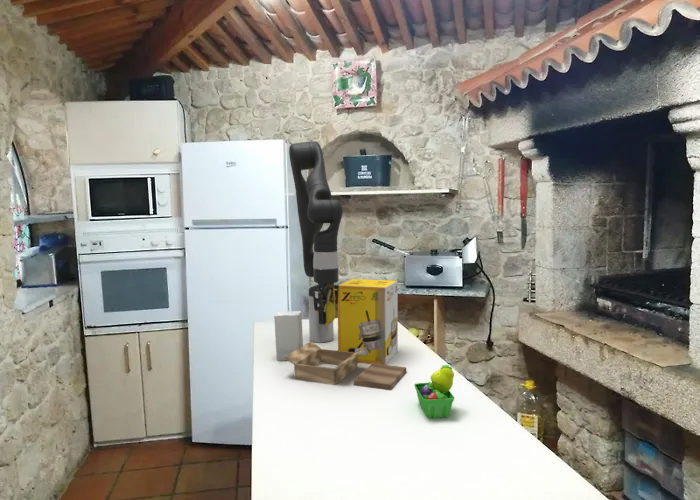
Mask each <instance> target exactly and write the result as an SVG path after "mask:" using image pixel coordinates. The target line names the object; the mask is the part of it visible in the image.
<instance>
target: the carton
mask: <svg viewBox="0 0 700 500" xmlns="http://www.w3.org/2000/svg"><path fill="white" fill-rule="evenodd" d="M365 349H367V347H365V348H363V349H361V350H359V351H357V352H346V351H338V350H336V349H335V350H334V349H327V348H326V349H325V348H321V347H320V346H319V345H317V344H316V343H315V342H313V341H309V342H308V343H305V344H303V346H302V347H300V348H298V349H297V350H295V351H293V352H291V353H289V354H288V355H286V356H285V358H286V359H287V360H289V361H288V362H290V363H291V364H293V366H294V367H293V368H294V369H293V371H294V380H298V381H305V382H310V383H311V382H313V383H320V384H325V385H326V384H327V385H332V386H333V385H335V386H336V385H337V384H339V382H342V380H343V379H344V378H345V377H347V376H348V375H349V374H351V373H352V372H353V371H354V370H355V369H356V368H357V367H358V362H357V356H358V355H359V354H360V353H361V352H363V351H364V350H365ZM320 364H327V365H336V366H335V367H334V368H333V367H324V366H318V365H320Z"/></svg>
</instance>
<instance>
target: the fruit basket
mask: <svg viewBox="0 0 700 500" xmlns="http://www.w3.org/2000/svg"><path fill="white" fill-rule="evenodd" d="M454 375H455V372H454V370H453V366H450V365H448V364H444V365H442V366H441V367H440V369H438V370H436V371H435V372H433V373H432V374H431V375H430V380H431V381H428V382H417V383H414V388H415V391H416V395H417V399H418V404H419V405H420V407H421V409H422V411H423V412H424V414H425V415H426V418H428V419H432V418H434V419H436V418H437V419H438V418H439V417H441V418H449V416H450V413H451V409H452V406H453V403H454V401H455V396H454V395H453V394H452V393H451V389H452V387H453V384H454V377H455V376H454Z"/></svg>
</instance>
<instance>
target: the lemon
mask: <svg viewBox="0 0 700 500" xmlns="http://www.w3.org/2000/svg"><path fill="white" fill-rule="evenodd" d="M323 307H324V304H323ZM336 315H337V310H336V306H334V304H333V303H332V302H330V301H329V304H328V305H327V308H326V324H325V325H326V326H328V325H329V324H330V323H332V322H333V323H334V322H335V320H336ZM318 318H319V312H318Z"/></svg>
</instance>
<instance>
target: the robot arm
mask: <svg viewBox="0 0 700 500" xmlns="http://www.w3.org/2000/svg"><path fill="white" fill-rule="evenodd" d="M288 153H289V161H290V167H291V171H292V172H291V173H292V178H293V183H294V190H295V196H296V197H295V198H296V205H297V207H296V208H297V215H298V221H299V228H300V234H301V243H302V256H303V257H302V258H303V269H304V273H305V275H306V277H308V278H313V282H314V283H316V285H312V286H310V287H309V288H308V323H309V324H308V325H309V326H308V328H309V329H308V331H309V333H308V334H309V335H308V336H309V342H311V341H312V342H313V343H328V342H331V341H333V340H334V336H335V335H334V321H333V322H332V323H330V324H329V325H328V326H326V325H325V324H326V308H327V305H328V304H329V301H330V302H332V303H333V304H334V306H335V307H336V305H338V292H339V285H340V284H335V283H338V282H339V253H338V236H339V235H338V234H339V229H340V224H341V221H342V217H343V214H344V213H343V212H344V208H343V205H342V203H341V202H340V201H339V200H338V199H332V193H331V189H330V185H329V183H328V179H327V175H326V166H325V159H324V154H323V149H322V147H321V145H320V143H319V142H318V141H315V140H313V141H312V140H311V141H302V142H295V143H292V144H291V143H290V145H289V148H288ZM305 170H311V172H310V173H309V175H308V177H307V178H306V179H305V177H304V176H303V174H302V171H305ZM324 224H329V226H328V227H327V229H324V230H322V228H323V226H324ZM323 304H324V307H323ZM318 312H319V318H318Z"/></svg>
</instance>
